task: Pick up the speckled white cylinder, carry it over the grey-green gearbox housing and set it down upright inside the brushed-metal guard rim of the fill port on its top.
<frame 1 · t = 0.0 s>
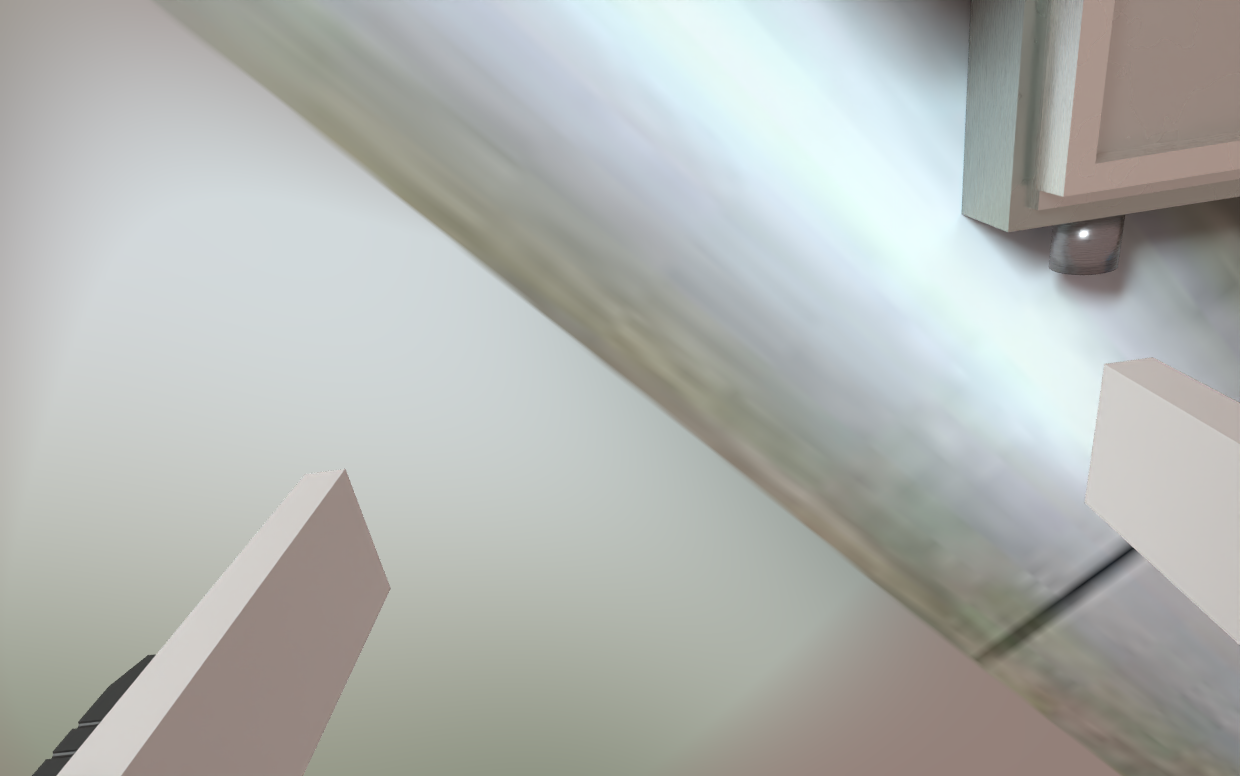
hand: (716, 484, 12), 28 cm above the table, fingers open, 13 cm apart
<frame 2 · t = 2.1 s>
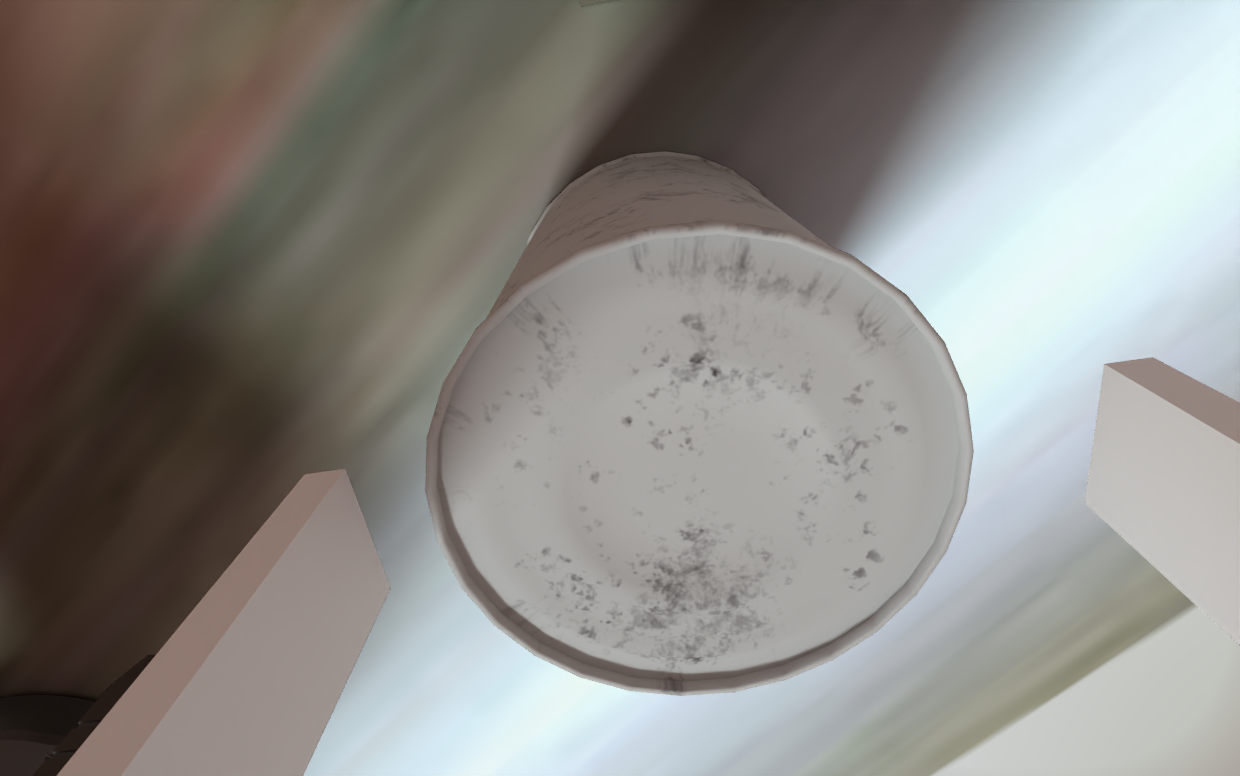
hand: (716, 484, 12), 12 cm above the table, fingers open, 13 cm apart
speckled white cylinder: (657, 297, 23), on the table
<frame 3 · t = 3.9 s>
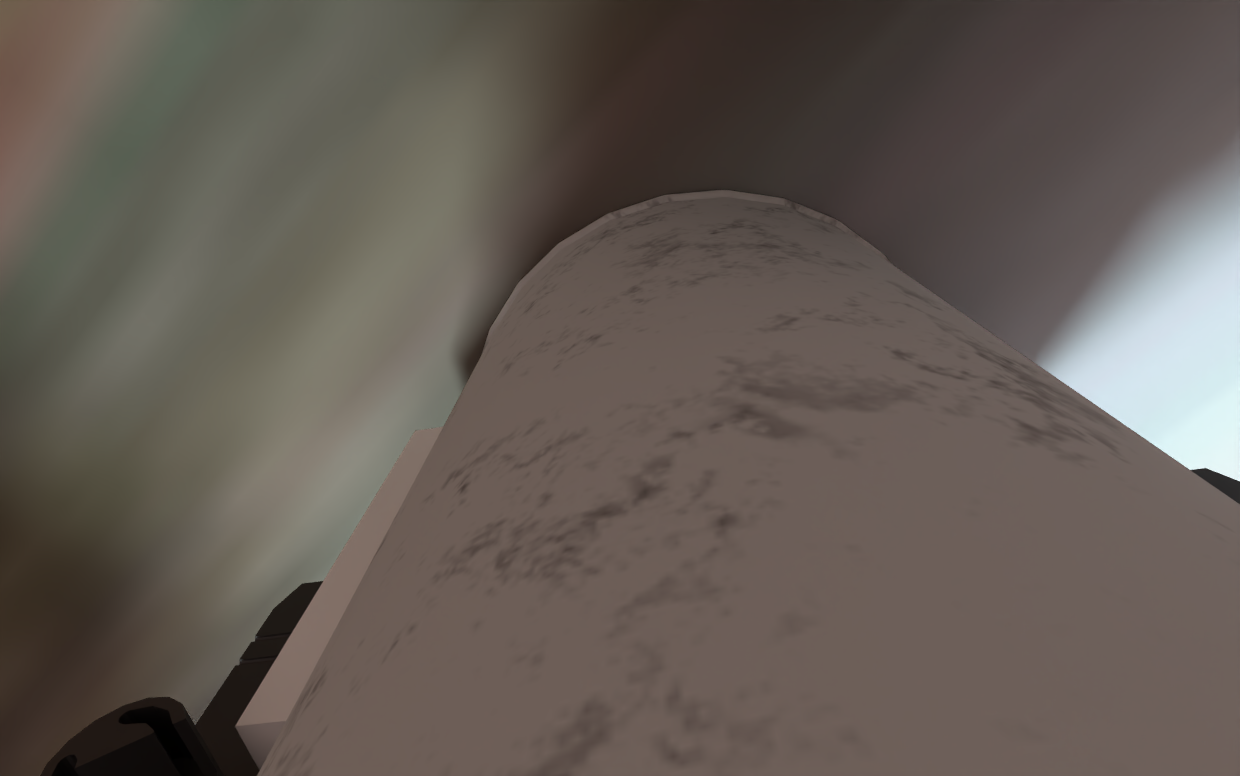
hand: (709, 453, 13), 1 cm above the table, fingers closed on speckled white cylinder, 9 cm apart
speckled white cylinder: (702, 421, 14), on the table, touching gripper
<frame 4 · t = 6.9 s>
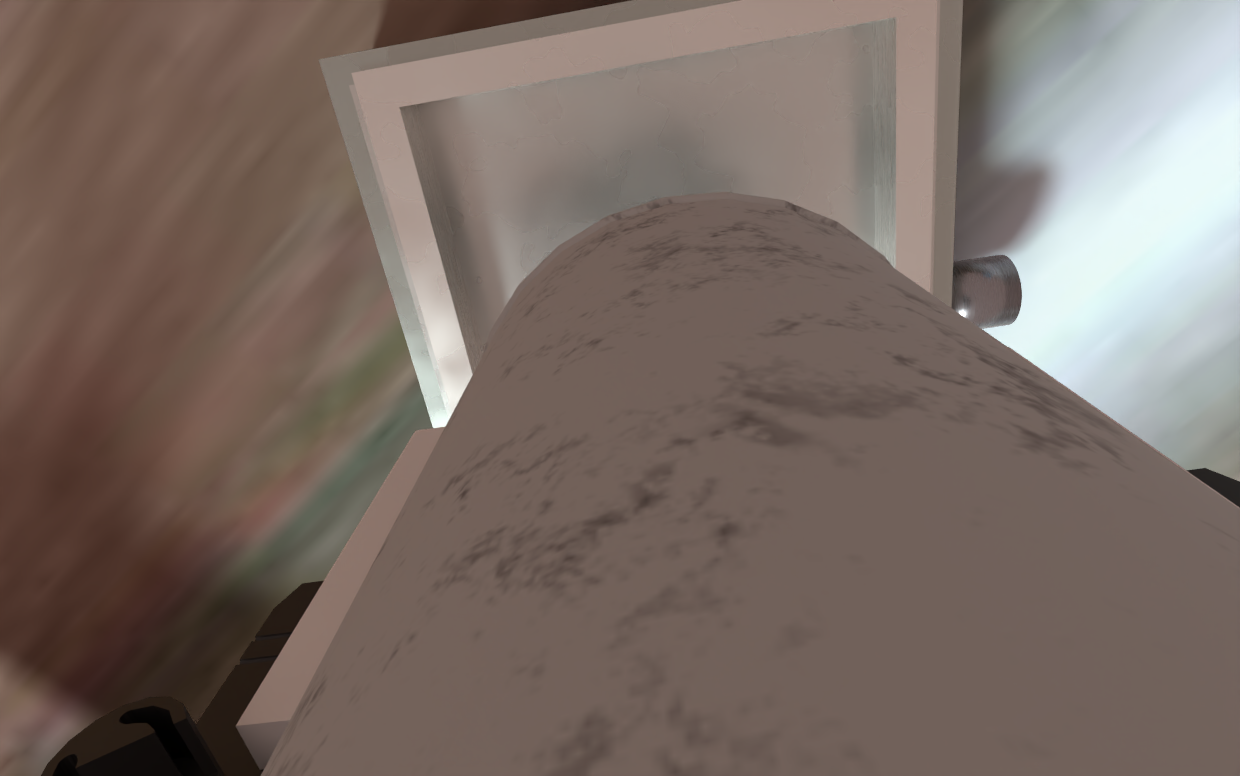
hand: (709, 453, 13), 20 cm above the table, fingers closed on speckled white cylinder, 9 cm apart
gearbox: (660, 235, 31), on the table
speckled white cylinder: (703, 423, 14), point 18 cm above the table, touching gripper
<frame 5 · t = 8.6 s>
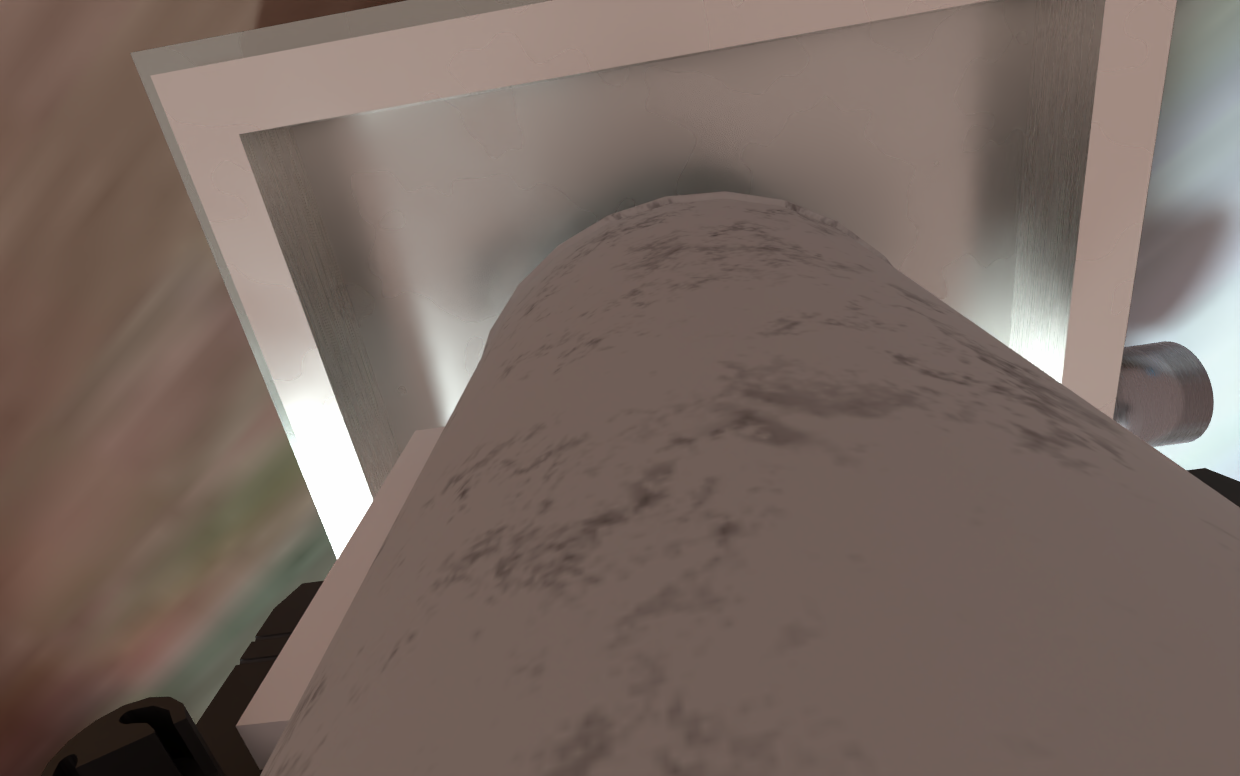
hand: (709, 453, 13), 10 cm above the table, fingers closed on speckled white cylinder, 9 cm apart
gearbox: (674, 304, 22), on the table
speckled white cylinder: (703, 423, 14), point 9 cm above the table, touching gripper
when the fingers open (8 cm above the table, at t = 9.9 s): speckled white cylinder drops 1 cm, resting on gearbox.
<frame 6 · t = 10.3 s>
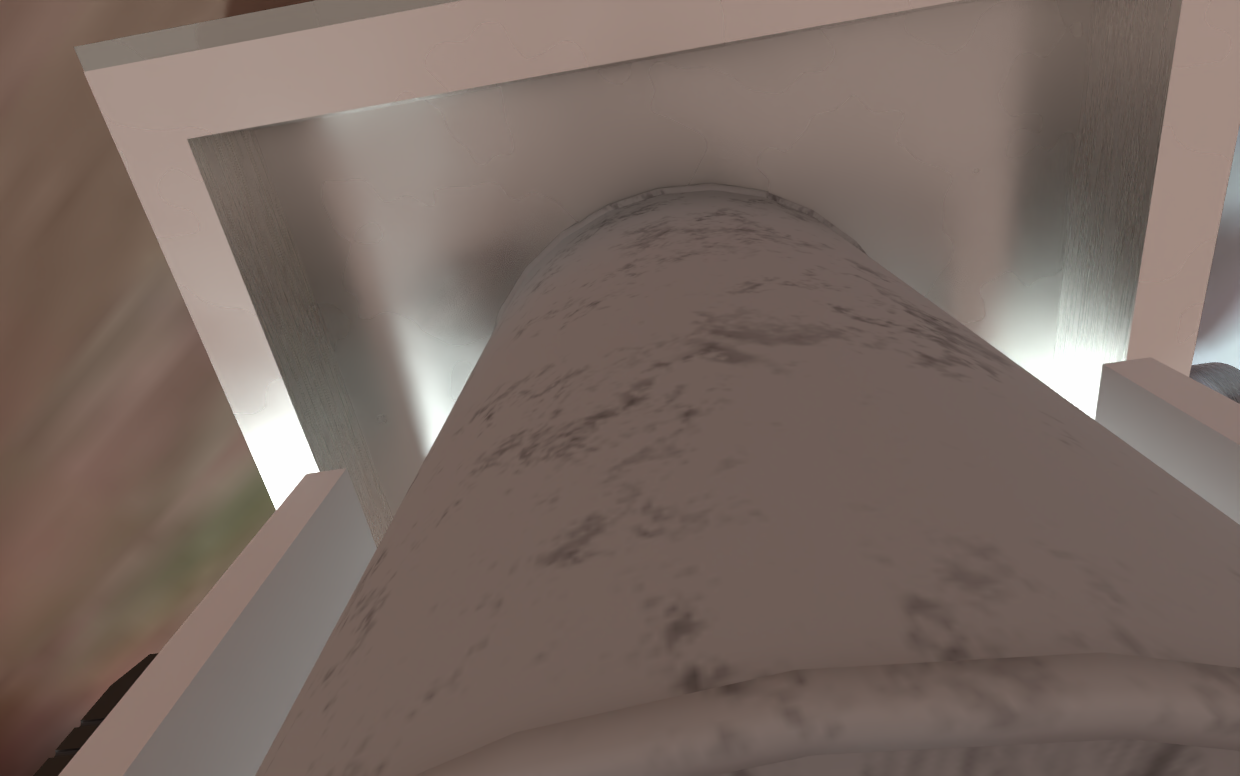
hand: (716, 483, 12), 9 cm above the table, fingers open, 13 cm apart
gearbox: (680, 319, 20), on the table
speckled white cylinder: (694, 397, 16), point 5 cm above the table, touching gearbox
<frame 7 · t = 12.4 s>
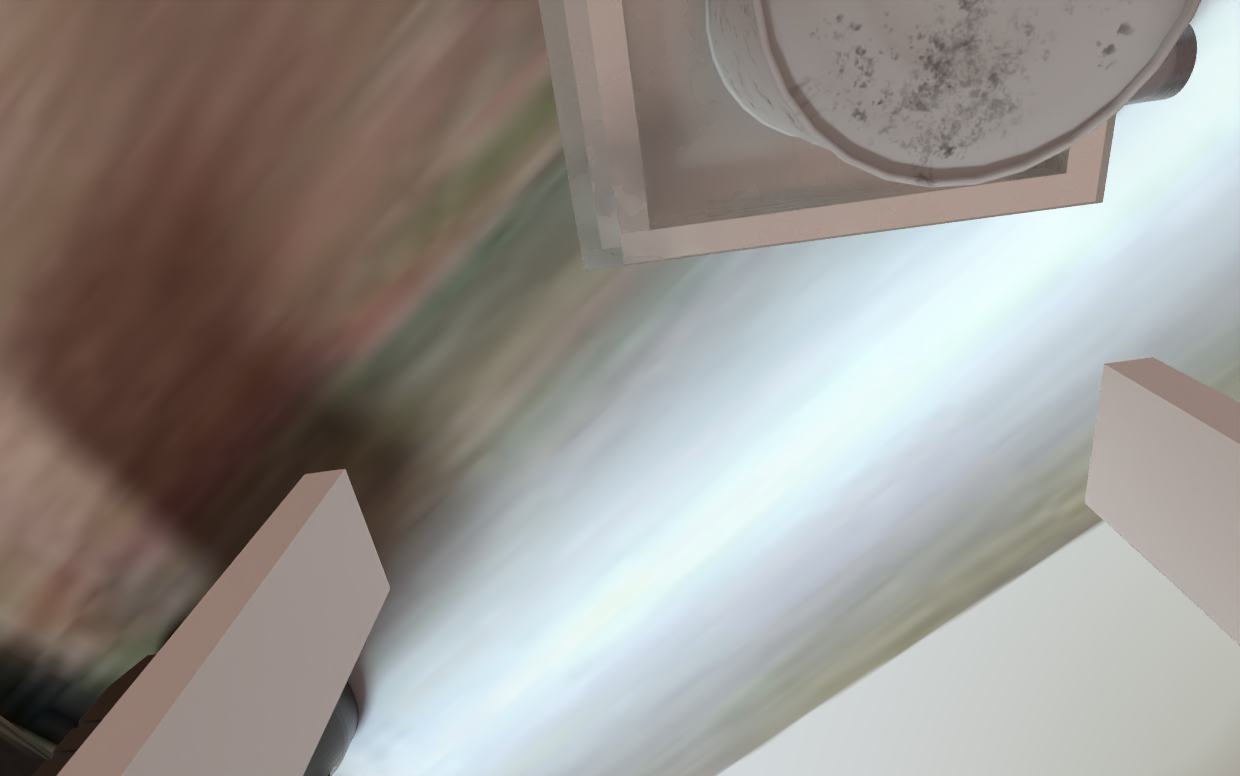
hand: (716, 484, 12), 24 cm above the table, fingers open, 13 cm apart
gearbox: (804, 11, 30), on the table
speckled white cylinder: (833, 2, 25), point 5 cm above the table, touching gearbox
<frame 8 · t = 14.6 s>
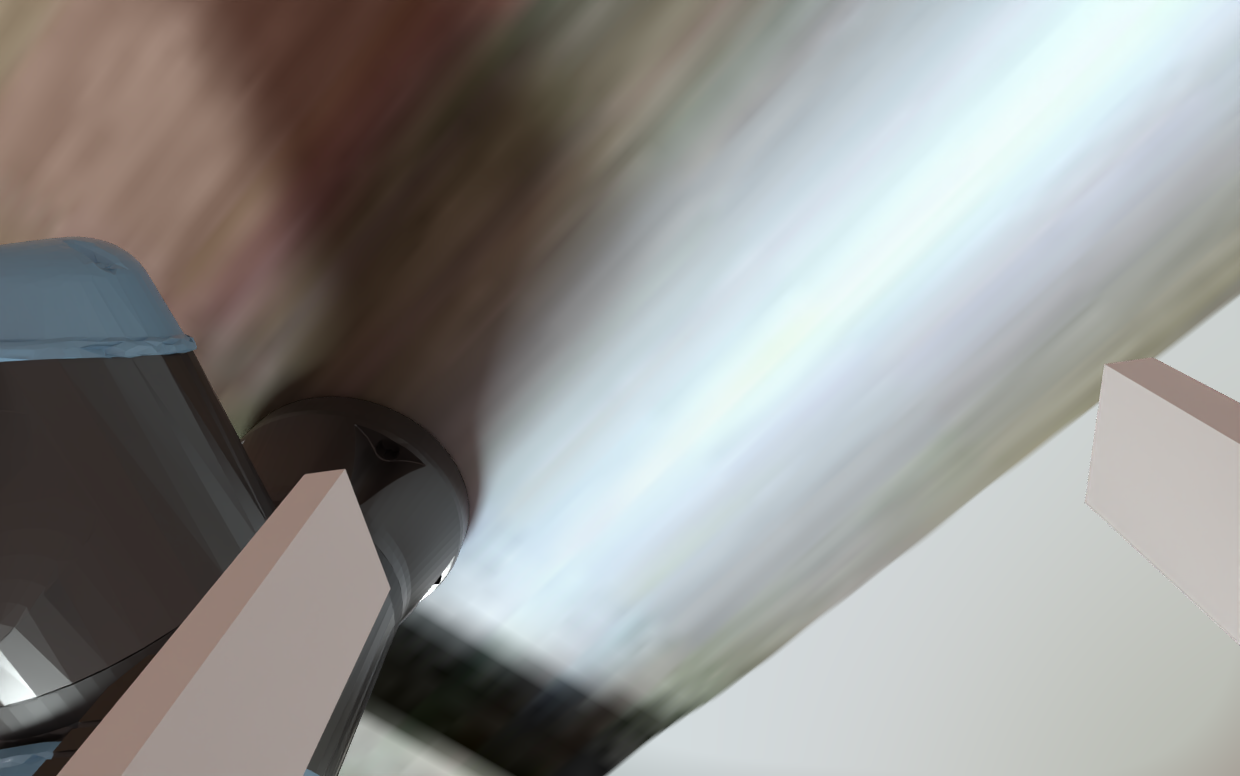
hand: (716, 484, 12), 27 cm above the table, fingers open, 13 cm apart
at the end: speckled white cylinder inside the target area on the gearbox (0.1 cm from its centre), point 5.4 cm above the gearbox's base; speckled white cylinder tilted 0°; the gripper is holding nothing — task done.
